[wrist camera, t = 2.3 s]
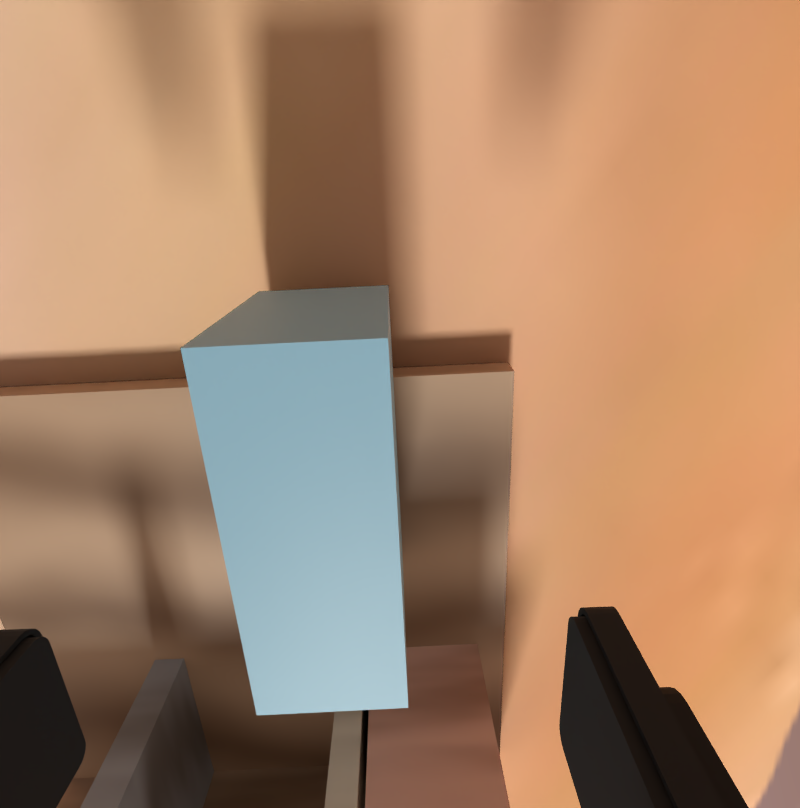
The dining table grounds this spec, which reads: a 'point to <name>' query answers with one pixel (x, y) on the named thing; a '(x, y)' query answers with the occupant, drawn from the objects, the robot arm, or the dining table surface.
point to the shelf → (214, 610)
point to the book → (307, 493)
